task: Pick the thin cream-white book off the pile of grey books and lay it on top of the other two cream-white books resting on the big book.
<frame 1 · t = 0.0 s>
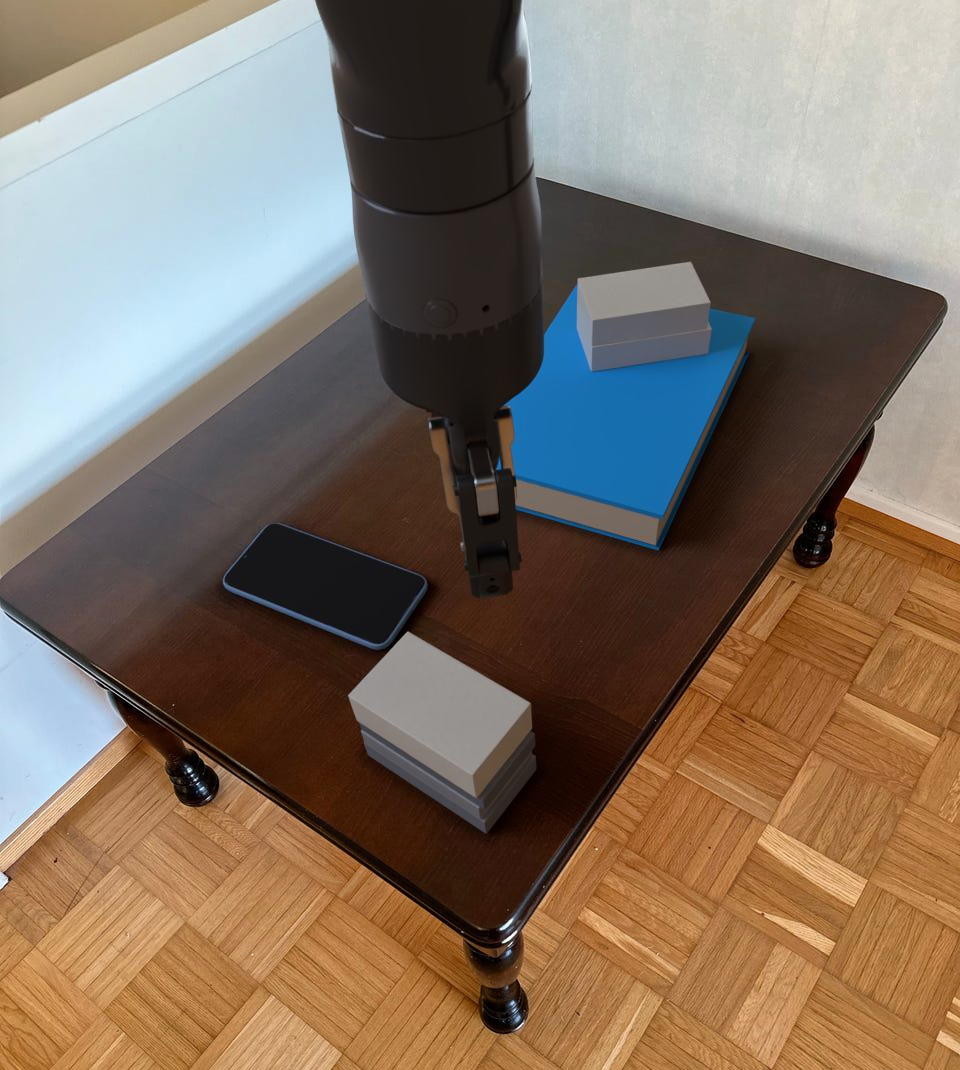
hand: (480, 532, 52), 16 cm above the table, tool pointing down, fingers open, 8 cm apart
smartphone: (326, 587, 72), on the table
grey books: (451, 762, 63), on the table
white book: (443, 724, 58), point 5 cm above the table, touching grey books
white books: (641, 341, 80), point 4 cm above the table, touching book
book: (611, 423, 81), on the table, touching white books
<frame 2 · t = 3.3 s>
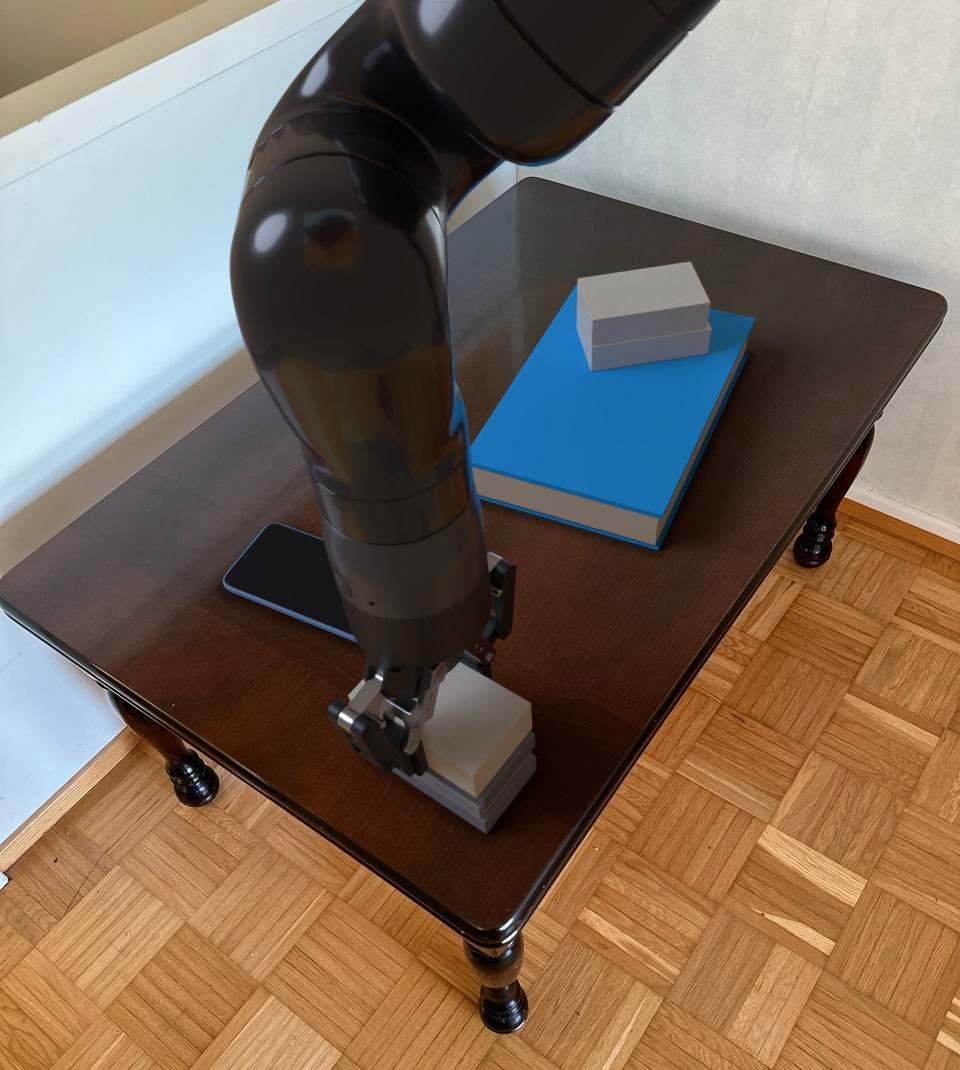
hand: (444, 727, 59), 5 cm above the table, tool pointing down, fingers closed on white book, 5 cm apart
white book: (443, 724, 58), point 5 cm above the table, touching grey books, gripper
everything else where it was.
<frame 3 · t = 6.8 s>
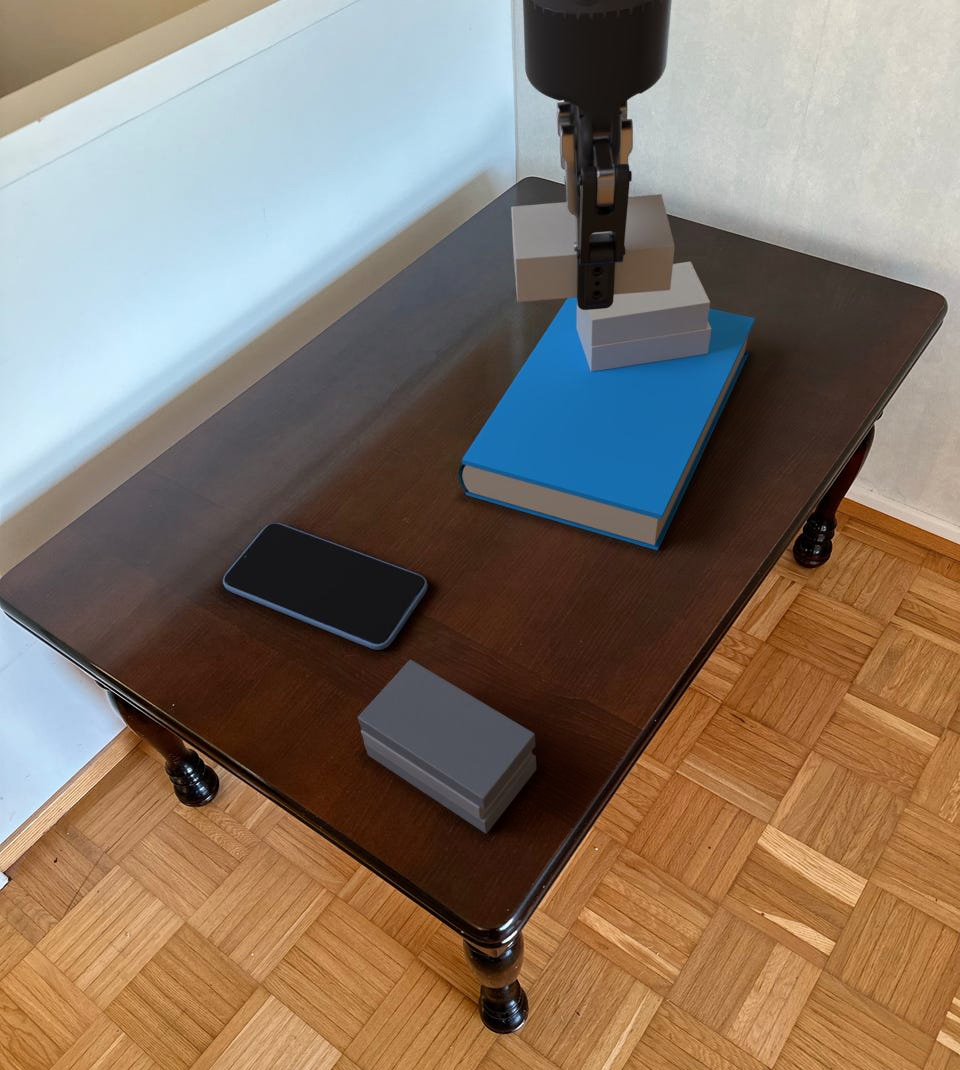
hand: (590, 274, 60), 19 cm above the table, tool pointing down, fingers closed on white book, 5 cm apart
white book: (589, 269, 60), point 20 cm above the table, touching gripper
everything else where it was.
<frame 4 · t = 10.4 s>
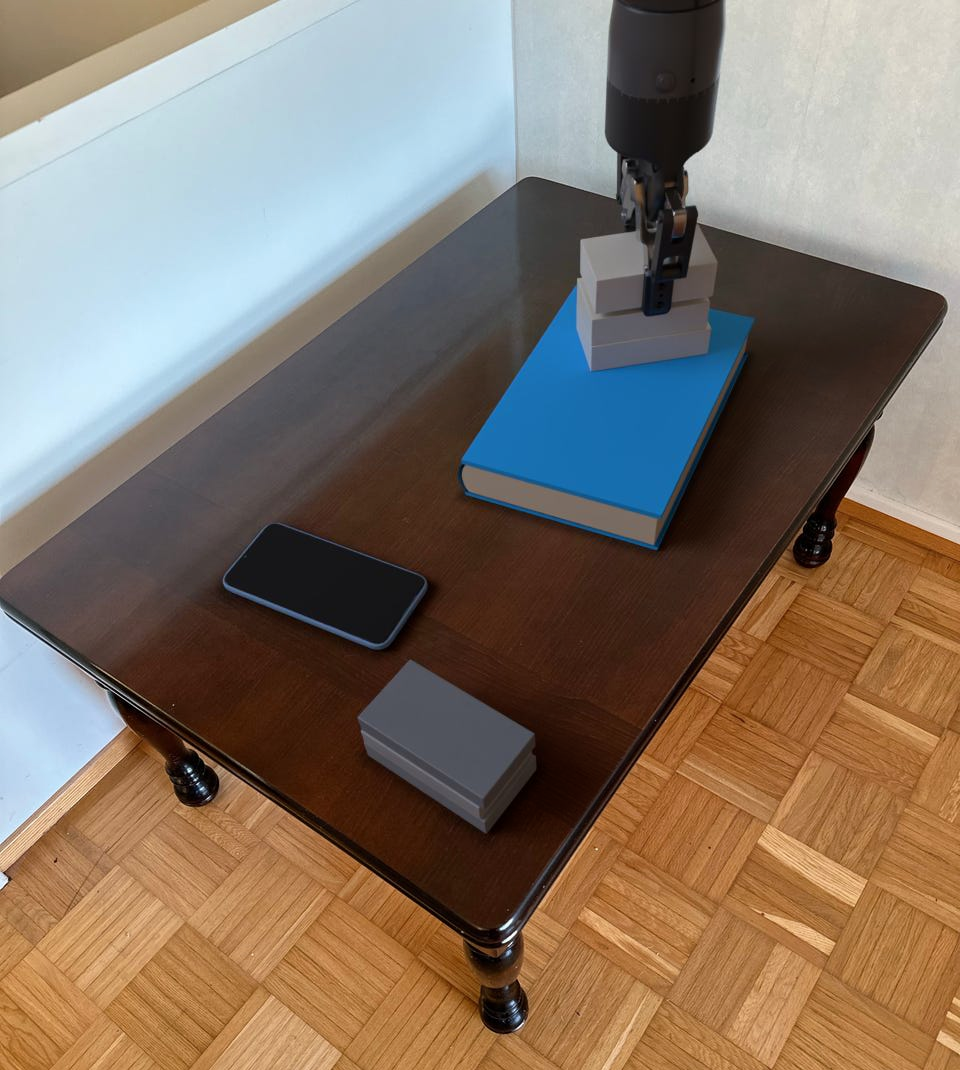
hand: (645, 288, 76), 9 cm above the table, tool pointing down, fingers closed on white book, 5 cm apart
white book: (645, 284, 76), point 9 cm above the table, touching gripper
everything else where it was.
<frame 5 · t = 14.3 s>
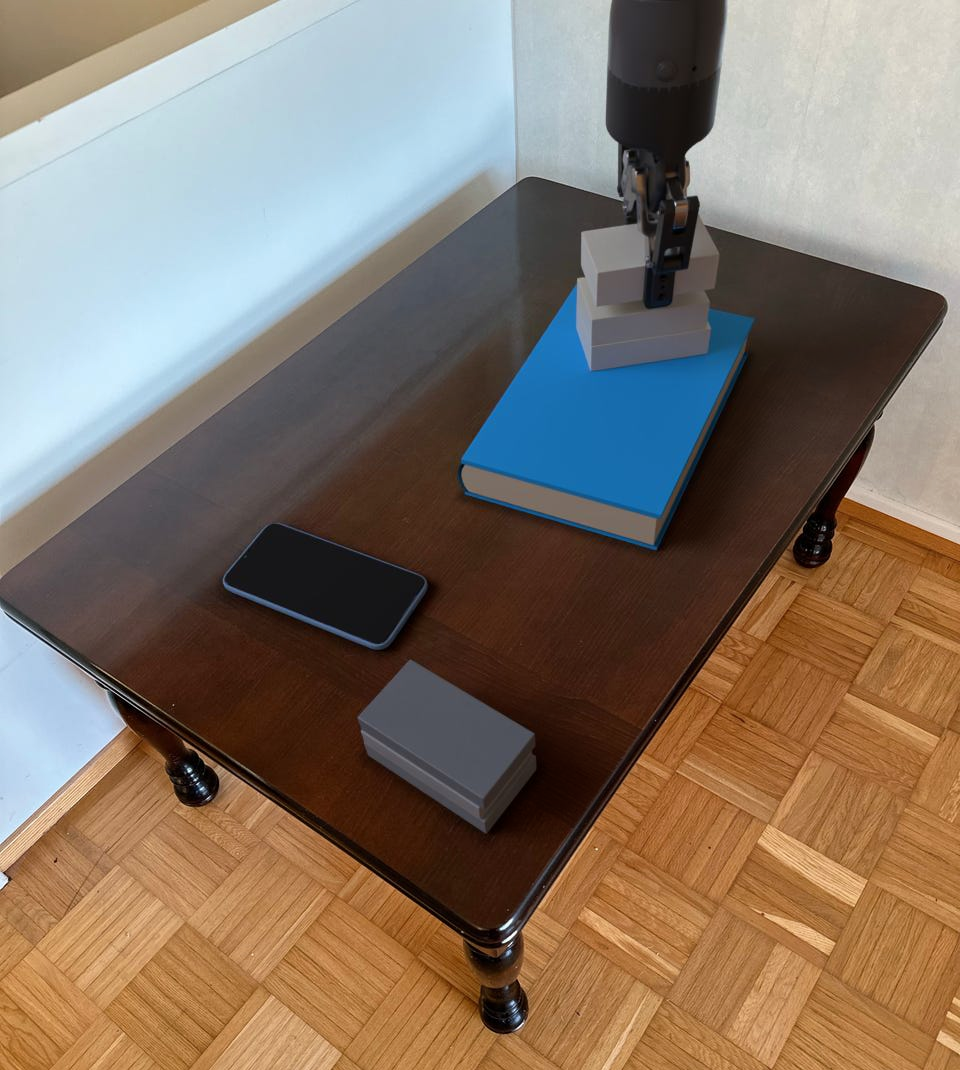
hand: (646, 281, 76), 10 cm above the table, tool pointing down, fingers closed on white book, 5 cm apart
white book: (646, 277, 75), point 10 cm above the table, touching gripper
everything else where it was.
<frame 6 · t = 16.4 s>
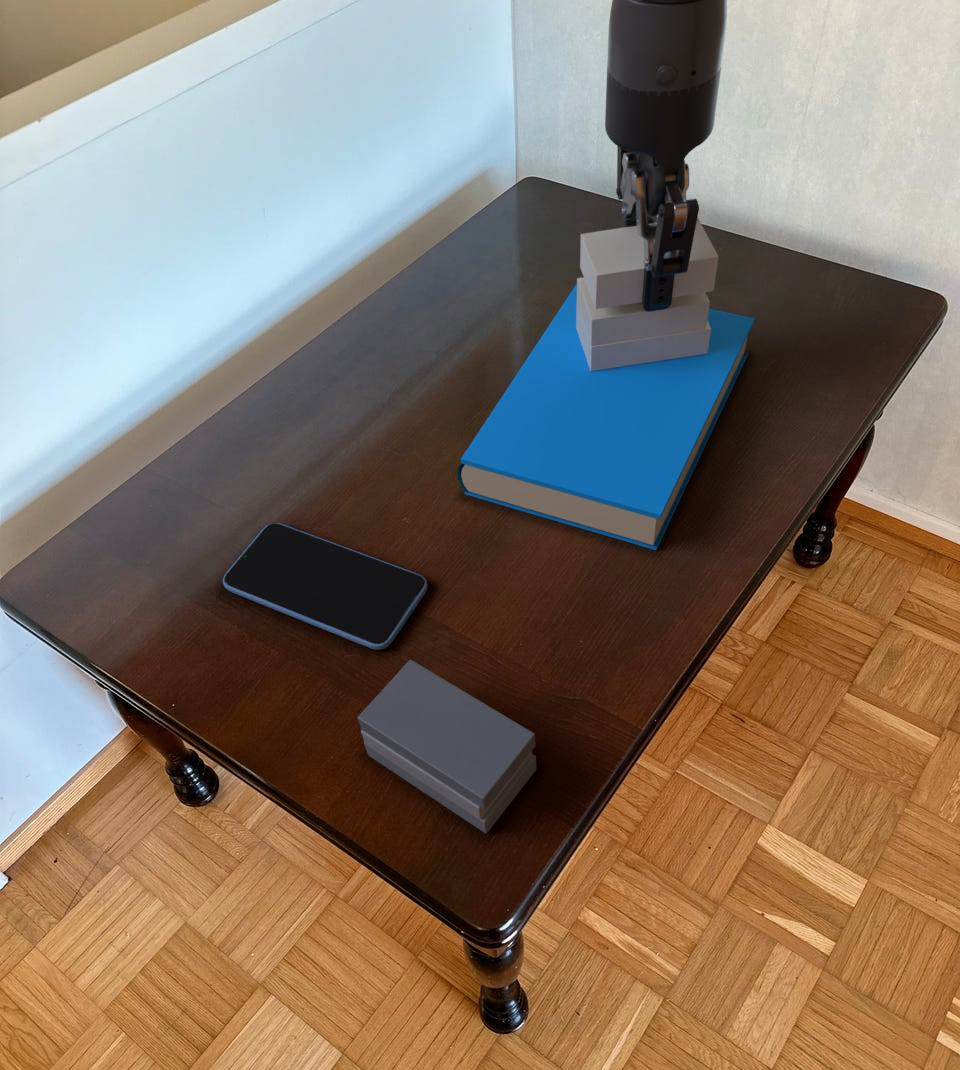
hand: (645, 283, 76), 10 cm above the table, tool pointing down, fingers closed on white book, 5 cm apart
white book: (645, 279, 75), point 10 cm above the table, touching gripper
everything else where it was.
when the fingers open (10 cm above the table, at t = 17.9 s): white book drops 1 cm, resting on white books.
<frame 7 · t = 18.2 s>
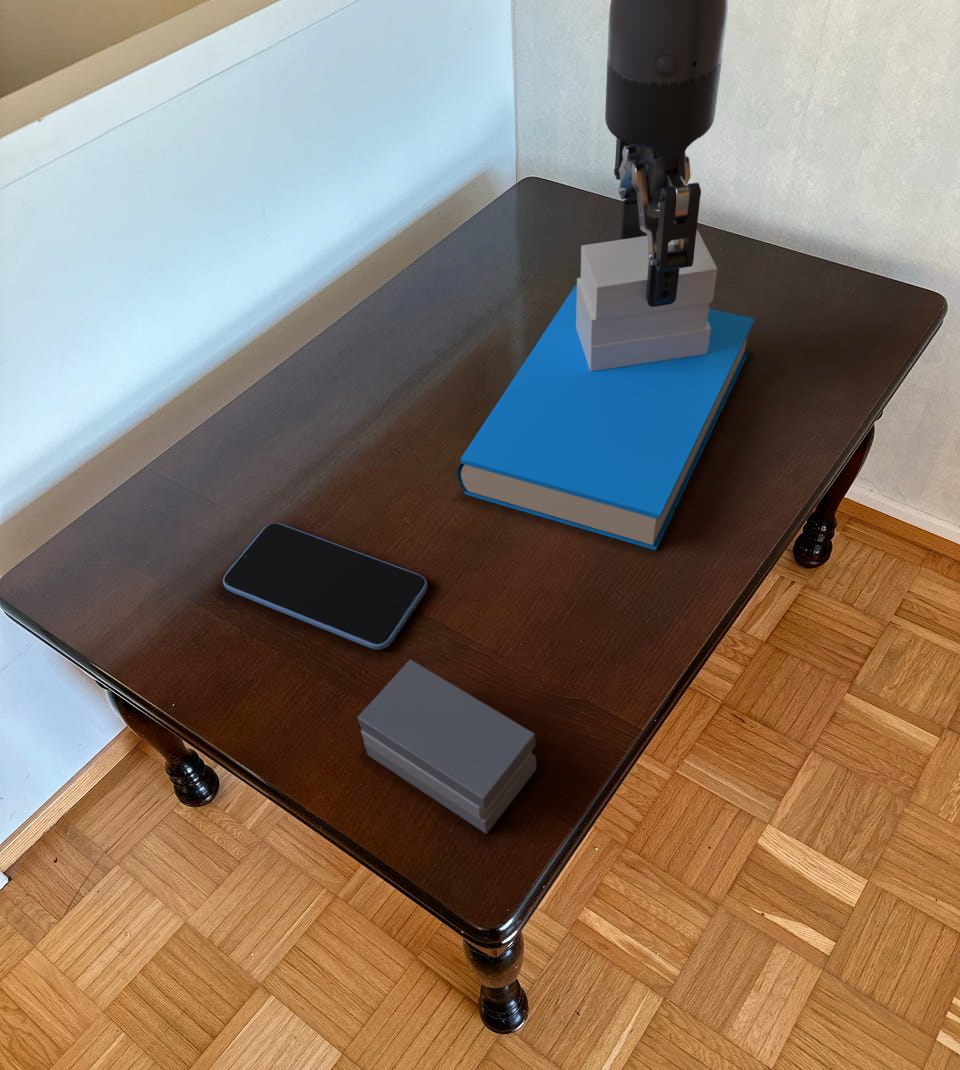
hand: (646, 272, 75), 11 cm above the table, tool pointing down, fingers open, 8 cm apart
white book: (645, 290, 76), point 9 cm above the table, touching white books
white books: (640, 340, 80), point 4 cm above the table, touching book, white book
everything else where it was.
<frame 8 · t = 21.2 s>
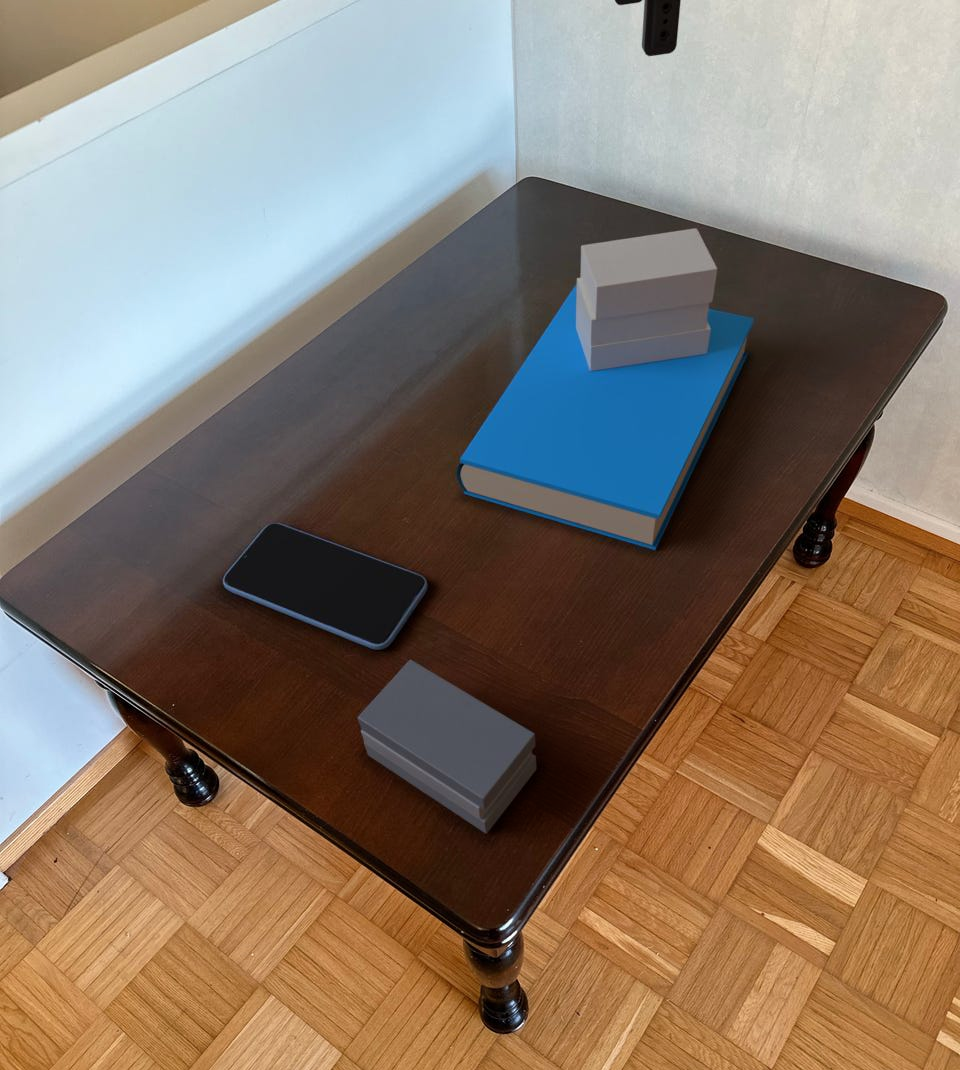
hand: (642, 26, 66), 26 cm above the table, tool pointing down, fingers open, 8 cm apart
nothing on the table moved.
at the end: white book 0.1 cm off-centre on the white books, point 5.0 cm above the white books's base; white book tilted 0°; the gripper is holding nothing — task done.
